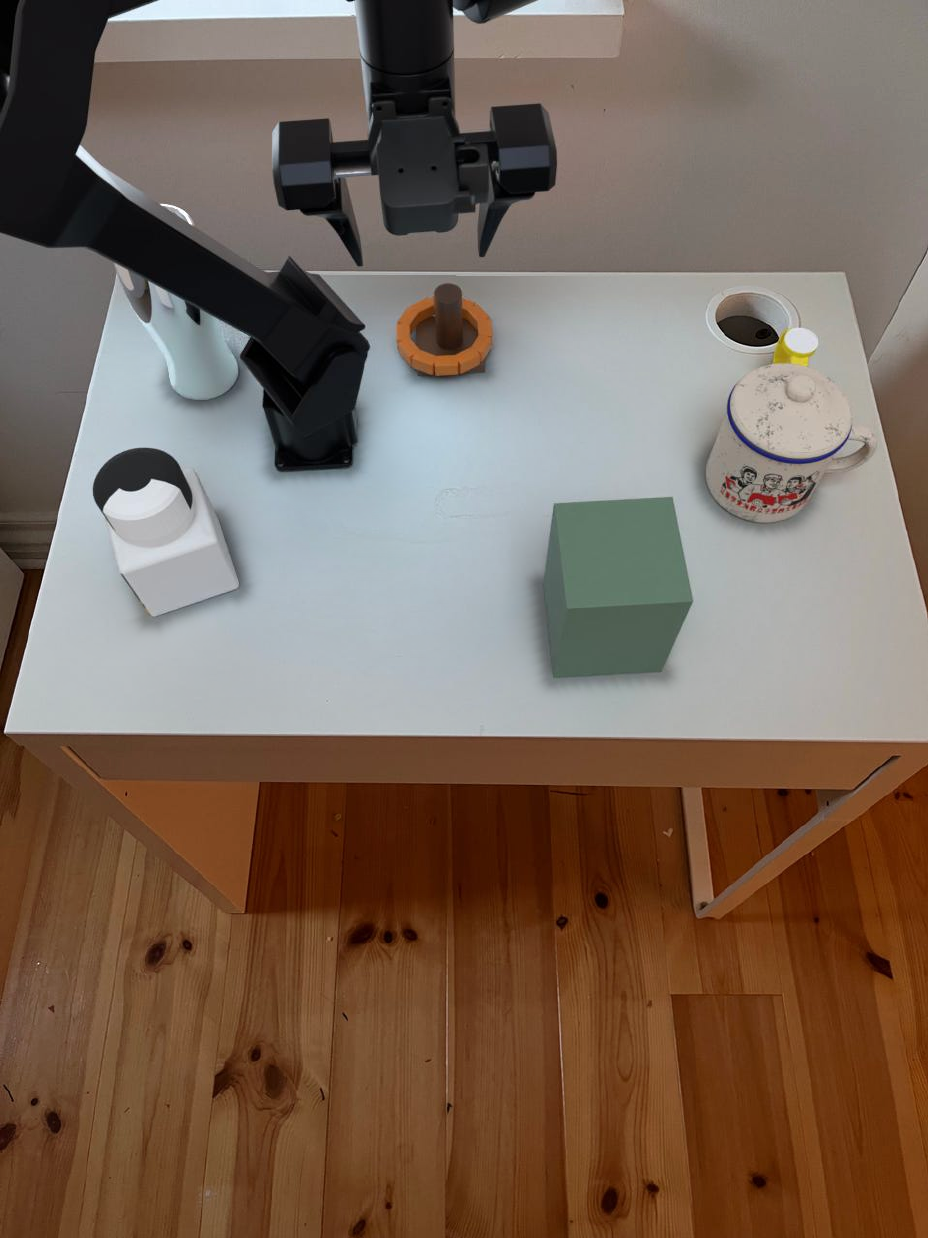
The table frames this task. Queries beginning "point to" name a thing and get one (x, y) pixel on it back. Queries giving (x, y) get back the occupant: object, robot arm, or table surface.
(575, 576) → the block
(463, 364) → the ring
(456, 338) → the stand
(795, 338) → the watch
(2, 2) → the robot arm
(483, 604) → the table surface
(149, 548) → the medicine bottle
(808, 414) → the teacup with lid
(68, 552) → the table surface
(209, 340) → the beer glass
